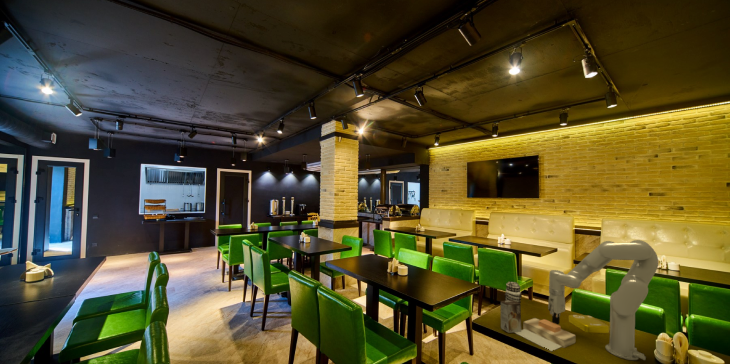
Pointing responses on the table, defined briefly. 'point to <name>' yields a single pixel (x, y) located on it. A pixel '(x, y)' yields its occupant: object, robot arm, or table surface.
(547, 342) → the mat
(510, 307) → the coffee box
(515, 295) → the decorative candle
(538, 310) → the table surface
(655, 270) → the robot arm
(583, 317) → the element tile
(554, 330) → the orange rectangular block
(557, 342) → the beige brown rectangular block
